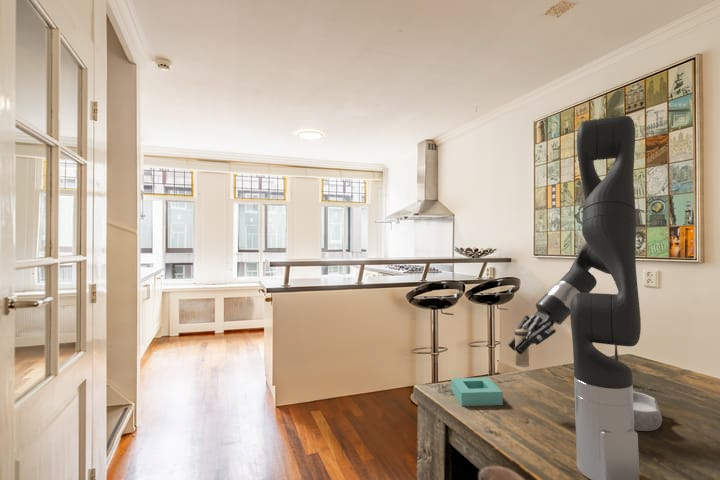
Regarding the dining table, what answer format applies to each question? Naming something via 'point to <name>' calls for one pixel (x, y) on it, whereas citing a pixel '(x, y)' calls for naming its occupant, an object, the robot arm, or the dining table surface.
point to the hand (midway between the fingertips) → (514, 349)
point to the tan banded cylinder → (523, 358)
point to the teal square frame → (476, 391)
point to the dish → (646, 412)
